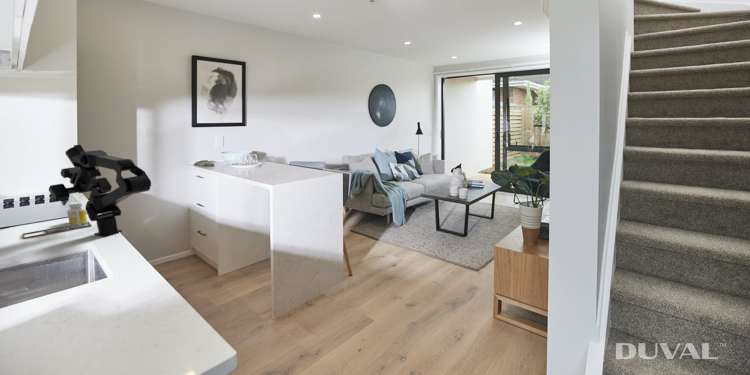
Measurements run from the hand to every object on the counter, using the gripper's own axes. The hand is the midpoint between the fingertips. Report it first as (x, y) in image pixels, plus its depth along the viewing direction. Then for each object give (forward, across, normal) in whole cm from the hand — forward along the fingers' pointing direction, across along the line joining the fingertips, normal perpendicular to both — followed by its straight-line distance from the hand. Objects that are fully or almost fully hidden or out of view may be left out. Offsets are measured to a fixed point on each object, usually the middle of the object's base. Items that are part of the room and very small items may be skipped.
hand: (77, 201), depth 145 cm
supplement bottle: (+9, 0, +6) cm, 11 cm away
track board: (+10, +6, +5) cm, 13 cm away
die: (+15, -3, 0) cm, 15 cm away
